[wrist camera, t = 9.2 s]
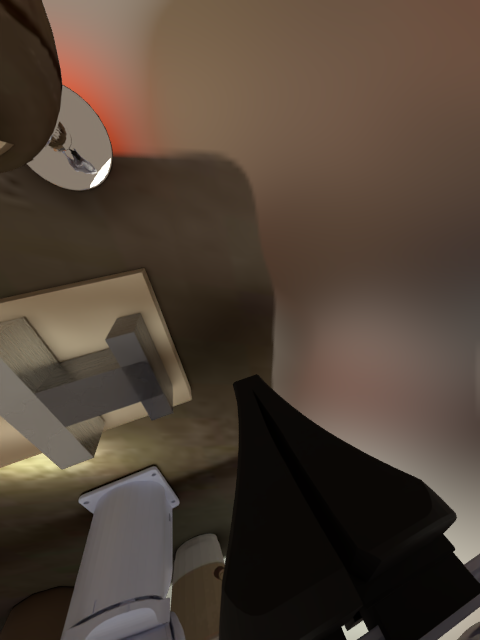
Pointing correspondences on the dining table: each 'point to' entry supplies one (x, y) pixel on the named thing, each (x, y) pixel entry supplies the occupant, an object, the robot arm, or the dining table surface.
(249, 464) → the robot arm
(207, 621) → the coffee cup
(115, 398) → the moving jaw
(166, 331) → the vise bed
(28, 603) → the beer bottle
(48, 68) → the wineglass
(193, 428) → the dining table surface
